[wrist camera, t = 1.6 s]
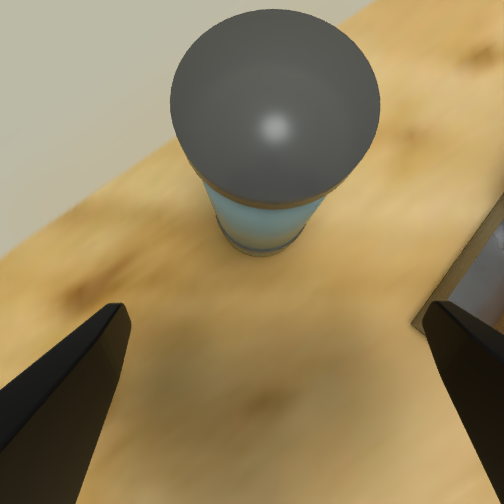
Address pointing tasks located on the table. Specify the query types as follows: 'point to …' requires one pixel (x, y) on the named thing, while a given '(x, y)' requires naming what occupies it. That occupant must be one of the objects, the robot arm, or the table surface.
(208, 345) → the table surface
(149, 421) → the table surface
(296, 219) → the grey-capped teal cylinder
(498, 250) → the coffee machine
